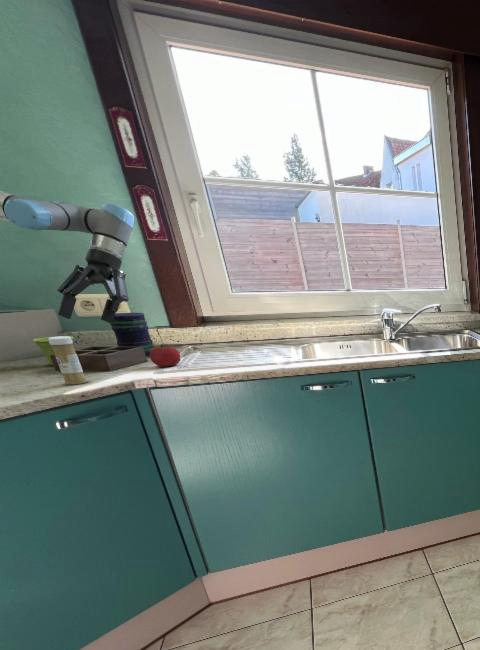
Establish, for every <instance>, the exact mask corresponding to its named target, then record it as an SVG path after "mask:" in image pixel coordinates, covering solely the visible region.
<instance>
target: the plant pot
mask: <svg viewBox="0 0 480 650" xmlns="http://www.w3.org/2000/svg"><path fill="white" fill-rule="evenodd" d="M68 336H69V337H71V339H72V341H73V343H72V344H73V345H74V338H75V337H74V336H72V335H71V336H70V335H68ZM50 337H51V336H45V337H39V338H34V339H32V341H33V342H34V343H35V344H36V346H38V347H39V348H40V350H41V352H42V353H43V355H44V357H45V358H46V360H47V361H48V363H49V365H50V366H53V367H54V365H53V362H52V360H51V357H50V355H52V354H55V353H54V350H53V348H52V346H51V345H50V343H49V340H48V338H50Z"/></svg>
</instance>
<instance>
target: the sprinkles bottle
mask: <svg viewBox="0 0 480 650" xmlns="http://www.w3.org/2000/svg"><path fill="white" fill-rule="evenodd" d="M69 336H70V335H68V336H67V335H58V336H49V337H50V338H48V340H49V343H50V345H51V346H52V348H53V350H54V353H55V356H56V359H57V362H58V364H59V367H60V370H61V371H60V372H61V375H62V377H63V380H64V384H66V385H69V386H70V385H80V384H84V383H86V382H87V379H86V377H85V374H84V371H83V370H82V367H81V365H80V362H79V359H78V357H77V354H76V352H75V350H76V349H75V347H74V340H73V341H72V339H71V337H72V336H71V337H69ZM72 343H73V344H72Z"/></svg>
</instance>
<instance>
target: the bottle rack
mask: <svg viewBox="0 0 480 650" xmlns="http://www.w3.org/2000/svg"><path fill="white" fill-rule="evenodd" d="M75 352H76V354H77V357H78V359H79V362H80V365H81V367H82V370H83V372H112V371H115V370H119V369H123V368H126V367H131V366H134V365H138V364H142V363H145V362H148V357H146V355H145V352H144V349H143V347H130V346H118V345H115V346H110V345H92V346H91V345H90V346H87V347H81V348H76V349H75ZM50 357H51V360H52V362H53V365H54V366H53V365H52V366H53V368H54V371H55V372H61V370H60V367H59V364H58V362H57V359H56V356H55V354H52V355H50Z"/></svg>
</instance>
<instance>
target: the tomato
mask: <svg viewBox="0 0 480 650" xmlns="http://www.w3.org/2000/svg"><path fill="white" fill-rule="evenodd" d="M154 347H155V348H153V349H151V350H150V353H149V354H150V357H149V359H150V360H151V362H152V363H153V364H154V365H155V366H157V367H160V368H166V367H174V366H176V365H178V364H180V362H181V359H182V358H181V353H180V352H179V350H177V349H176V348H175V347H173V346H170V345H163V343H162V344H160V346H154Z"/></svg>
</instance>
